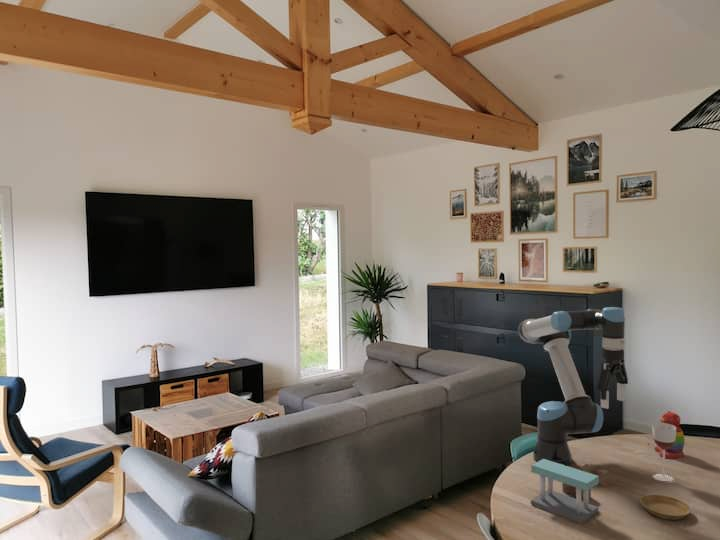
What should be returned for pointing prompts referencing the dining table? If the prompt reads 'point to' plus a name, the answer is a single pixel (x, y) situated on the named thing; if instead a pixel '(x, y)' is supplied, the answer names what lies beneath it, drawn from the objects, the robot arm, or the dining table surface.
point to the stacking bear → (679, 441)
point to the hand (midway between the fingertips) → (612, 404)
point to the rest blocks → (603, 474)
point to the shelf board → (565, 474)
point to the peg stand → (564, 503)
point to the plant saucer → (665, 506)
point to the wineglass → (664, 443)
